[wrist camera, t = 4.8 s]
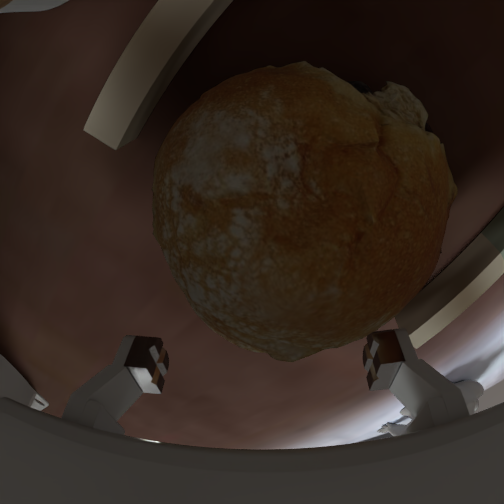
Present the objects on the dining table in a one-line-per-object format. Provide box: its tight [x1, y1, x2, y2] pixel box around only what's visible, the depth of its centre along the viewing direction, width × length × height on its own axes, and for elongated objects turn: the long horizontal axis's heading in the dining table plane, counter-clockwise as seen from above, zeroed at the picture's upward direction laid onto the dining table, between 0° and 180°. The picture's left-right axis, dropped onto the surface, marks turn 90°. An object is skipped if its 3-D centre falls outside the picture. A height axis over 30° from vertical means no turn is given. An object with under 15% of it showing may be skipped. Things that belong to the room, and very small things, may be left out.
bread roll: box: [152, 61, 457, 362], centre depth 10 cm, size 10×10×8 cm
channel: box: [83, 0, 504, 349], centre depth 9 cm, size 14×19×2 cm
